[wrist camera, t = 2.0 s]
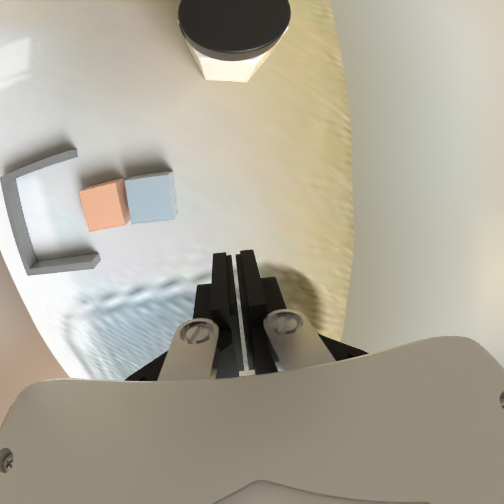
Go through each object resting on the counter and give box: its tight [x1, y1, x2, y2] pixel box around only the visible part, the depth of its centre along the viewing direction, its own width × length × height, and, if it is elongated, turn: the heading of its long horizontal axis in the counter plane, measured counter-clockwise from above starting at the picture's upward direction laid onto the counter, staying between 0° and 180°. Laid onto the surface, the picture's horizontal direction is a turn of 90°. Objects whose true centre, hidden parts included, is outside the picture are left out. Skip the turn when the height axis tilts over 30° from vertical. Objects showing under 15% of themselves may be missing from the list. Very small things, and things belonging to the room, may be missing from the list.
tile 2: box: [79, 178, 131, 232], centre depth 29 cm, size 5×5×3 cm
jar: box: [178, 0, 291, 82], centre depth 18 cm, size 9×8×12 cm
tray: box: [0, 149, 101, 276], centre depth 28 cm, size 15×13×2 cm
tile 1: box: [125, 171, 178, 224], centre depth 29 cm, size 5×5×3 cm
